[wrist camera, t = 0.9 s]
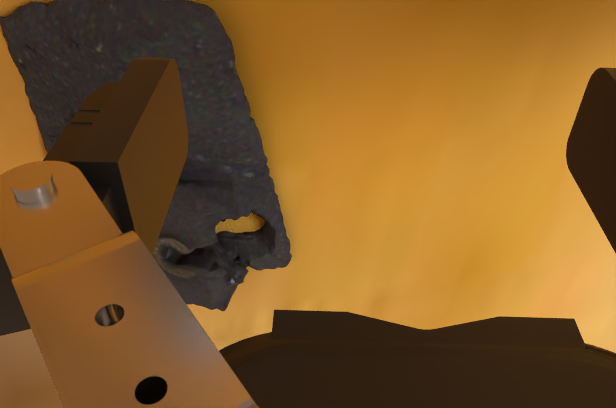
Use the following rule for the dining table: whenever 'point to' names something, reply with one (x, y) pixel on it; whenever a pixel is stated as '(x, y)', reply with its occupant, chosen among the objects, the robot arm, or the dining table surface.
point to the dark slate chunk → (199, 115)
